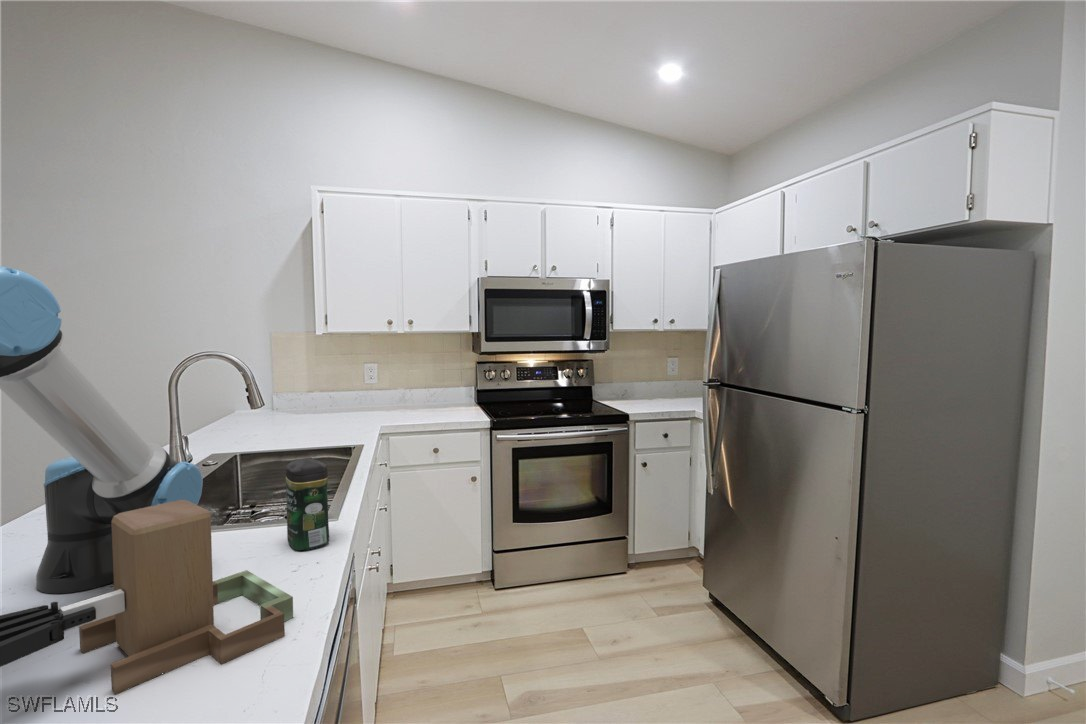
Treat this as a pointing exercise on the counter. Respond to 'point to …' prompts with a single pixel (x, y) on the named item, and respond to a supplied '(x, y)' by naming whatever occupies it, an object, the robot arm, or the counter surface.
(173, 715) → the counter surface
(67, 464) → the robot arm
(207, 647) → the trap lane
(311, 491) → the coffee jar
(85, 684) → the counter surface
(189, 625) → the block
